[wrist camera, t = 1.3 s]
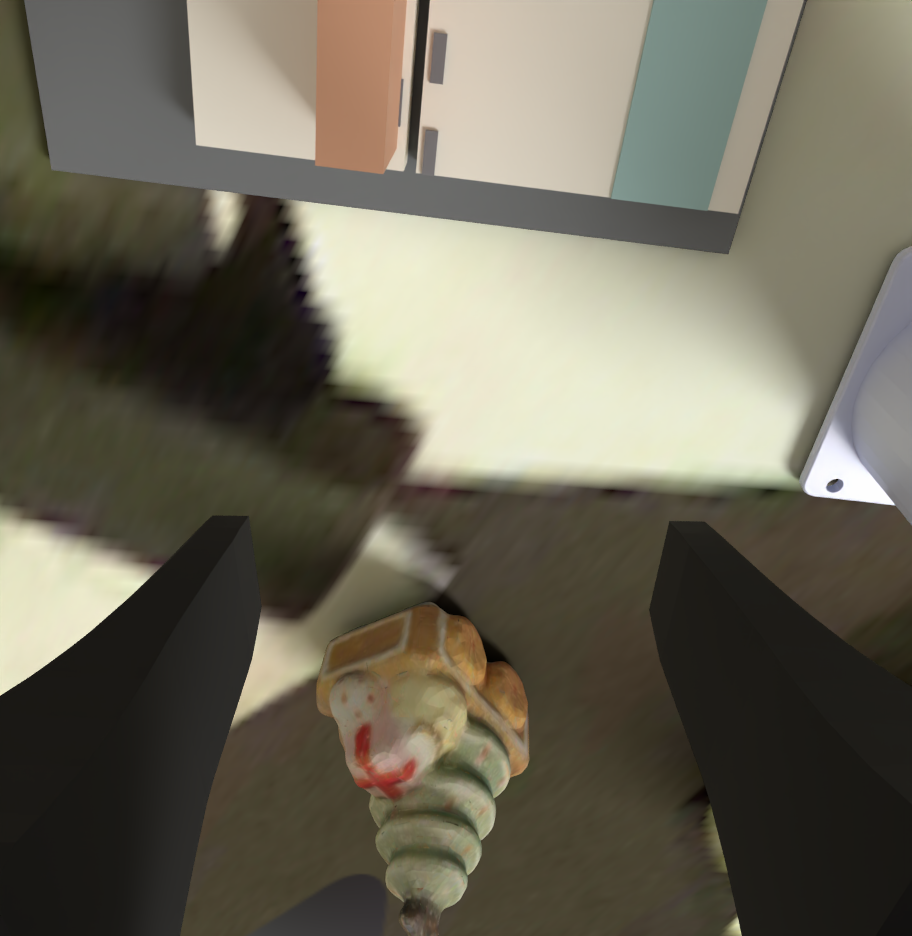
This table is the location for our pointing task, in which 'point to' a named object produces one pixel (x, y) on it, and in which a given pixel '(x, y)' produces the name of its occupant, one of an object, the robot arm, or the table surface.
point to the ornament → (426, 746)
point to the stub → (305, 79)
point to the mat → (186, 164)
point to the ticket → (603, 95)
